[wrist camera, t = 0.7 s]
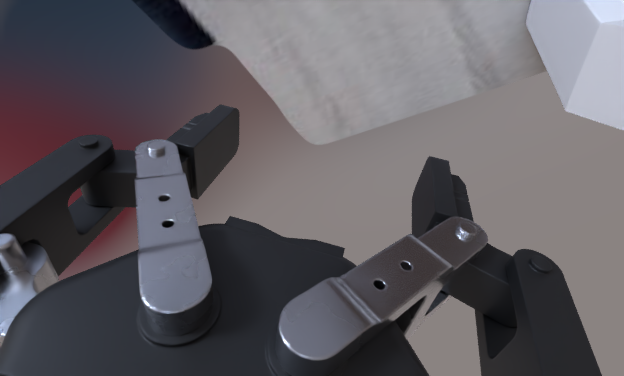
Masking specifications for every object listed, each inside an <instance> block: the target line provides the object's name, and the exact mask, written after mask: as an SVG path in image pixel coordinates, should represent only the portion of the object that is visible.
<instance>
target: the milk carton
mask: <svg viewBox="0 0 624 376" xmlns="http://www.w3.org/2000/svg"><path fill="white" fill-rule="evenodd" d="M526 26H527V28H528V30H529V33H530V35H531V37H532V39H533V41H534V43H535V46H536V48H537V50H538V52H539V54H540V56H541V59H542V61H543V63H544V65H545V67H546V69H547V72H548V74H549V76H550V78H551V80H552V83H553V85H554V87H555V89H556V91H557V93H558V95H559V98H560V100H561V102H562V104H563V106H564V109H565V111H567V112H570V113H573V114H576V115H579V116H582V117H585V118H588V119H591V120H594V121H597V122H600V123H603V124H606V125H609V126H612V127H615V128H618V129H621V130H624V0H531V2H530V6H529V11H528V15H527V19H526Z"/></svg>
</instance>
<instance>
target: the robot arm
mask: <svg viewBox="0 0 624 376" xmlns="http://www.w3.org/2000/svg"><path fill="white" fill-rule="evenodd" d="M238 145H239V110H238V109H237V108H233V107H228V106H224V105H219V106H217V107H216V108H215V109H214V110H213V111H211V112H210V113H204V114H201V115H198V116H196V117H194V118H193V119H192V120H191V121H189V123H187V124H186V125H184V126H183V128H180V130H178V131H177V132H175V133H174V134H173V135H172V136H170V137H169V138H168V139H167V140H159V139H158V140H149V141H145V142H143V143H141V144H139V145H138V146H137V147H136V148H135V151H130V150H114V148H113V144H112V141H111V139H109V138H108V137H106V136H102V135H85V136H80V137H77V138H75V139H72V140H71V141H69V142H67V143H66V144H65V145H63V146H61V147H60V148H58V149H57V150H55V151H53V152H52V153H51V154H49V155H47V156H46V157H44V158H42V159H41V160H39V161H38V162H36V163H35V164H33V165H31V166H30V167H28V168H27V169H25V170H24V171H22V172H21V173H19V174H17V175H16V176H14V177H13V178H11V179H10V180H8V181H6V182H5V183H3V184H2V185H0V376H429V374H428V373H427V371H426V369H425V368H424V366H423V365H422V363H421V361H420V360H419V358H418V357H417V355H416V353H415V352H414V350H413V349H412V347H411V345H410V344H409V342H408V339H409V338H410V337H411V335H412V334H413V333H414V332H415V330H416V329H417V328H418V327H419V326H420V325H421V324H422V323H423V322H424V321H425V320H426V319H427V318H428V317H429V316H431V315H432V314H433V313H434V312H435V311H436V310H437V309H438V308H439V307H441V306H442V305H443V304H444V303H445V302H446V301H447V300H448V299H449V298H451V296H453V297H454V298H456V299H458V300H460V301H462V302H463V303H465V304H467V305H469V306H470V307H472V308H474V309H475V316H476V326H477V336H478V345H479V356H480V366H481V375H482V376H602V375H601V372H600V369H599V367H598V364H597V362H596V359H595V356H594V354H593V351H592V349H591V346H590V343H589V341H588V338H587V335H586V333H585V330H584V328H583V325H582V322H581V320H580V317H579V315H578V312H577V309H576V307H575V304H574V302H573V299H572V296H571V294H570V291H569V289H568V286H567V283H566V281H565V278H564V275H563V273H562V271H561V270H560V268H559V267H558V266H557V265H556V264H555V263H554V262H553V261H552V260H551V259H549V258H548V257H546V256H545V255H543V254H541V253H539V252H536V251H533V250H529V249H521V250H518V251H517V252H516V253H515V254H514V255H513V256H511V255H509V254H507V253H505V252H503V251H501V250H498V249H496V248H495V247H493V246H491V245H490V244H488V243H487V242H488V237H487V234H486V233H485V231H484V230H483V229H482V228H481V227H480V226H479V225H477V224H476V223H474V221H473V217H472V212H471V208H470V204H469V202H468V201H469V199H468V195H467V190H466V185H465V184H464V183H463V181H462V180H461V179H460V177H459V176H456V175H452V174H451V172H450V166H449V161H447V160H443V159H439V158H435V157H428V159H427V161H426V163H425V166H424V168H423V170H422V173H421V175H420V177H419V180H418V182H417V185H416V187H415V190H414V193H413V197H412V234H409V235H407V236H405V237H403V238H402V239H400V240H399V241H397V242H395V243H394V244H392V245H390V246H389V247H387V248H386V249H384V250H382V251H381V252H379V253H378V254H376V255H374V256H373V257H371V258H370V259H368V260H366V261H365V262H363V263H362V264H360V265H358V266H356V265H355V264H354V263H352V262H351V261H349V260H347V259H346V258H344V257H343V253H344V249H345V248H342V247H339V246H335V245H331V244H328V243H324V242H321V241H317V240H308V239H297V238H286V237H282V236H280V235H278V234H276V233H274V232H272V231H271V230H269V229H266V228H265V227H263V226H261V225H259V224H256V223H253V222H249V221H246V220H242V219H239V218H235V217H231V216H230V217H229V218H228V220H227V221H226V223H225V224H208V225H203V226H198V224H197V219H196V215H195V211H194V207H193V203H192V199H191V197H192V198H195V199H198V198H199V197H200V196H201V195H202V194H203V192H204V191H205V190H206V189H207V188H208V186H209V185H210V184H211V183H212V182H213V181H214V179H215V178H216V177H217V176H218V174H219V173H220V172H221V171H222V170H223V169H224V167H225V166H226V165H227V164H228V163H229V161H230V160H231V159H232V158H233V157H234V155H235V153H236V152H237V149H238ZM78 188H80V189H81V192H82V194H83V195H82V196H81V197H80V198H79V199H77V200H76V201H75V202H74V203H73V204H71V205H70V206H69V207H68V200H69V198H70V196H71V195H72V193H73V192H75V191H76V190H77V189H78ZM125 207H136V210H137V227H138V243H139V250H136V251H134V252H131V253H129V254H127V255H124V256H121V257H119V258H116V259H114V260H111V261H108V262H106V263H104V264H101V265H98V266H96V267H93V268H91V269H88V270H86V271H83V272H81V273H78V274H76V275H73V276H71V277H68V278H66V279H63V280H61V281H59V282H58V280H59V279H58V276H59V275H60V274H61V273H62V272H63V271H64V270H65V269H66V268H67V267H68V266H69V265H70V264H71V263H72V262H73V261H74V260H75V259H76V257H78V256H79V255H80V254H81V252H83V251H84V249H85V248H86V247H87V246H88V245H89V244H90V243H91V242H92V241H93V240H94V239H95V238H96V237H97V236H98V235H99V234H100V233H101V232H102V231H103V230H104V229H105V228H106V227H107V226H108V225H109V224H110V223H111V222H112V221H113V220H114V219H115V217H116V216H117V215H118V214H119V213H120V212H121V211H122V210H123V209H124V208H125Z"/></svg>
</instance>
